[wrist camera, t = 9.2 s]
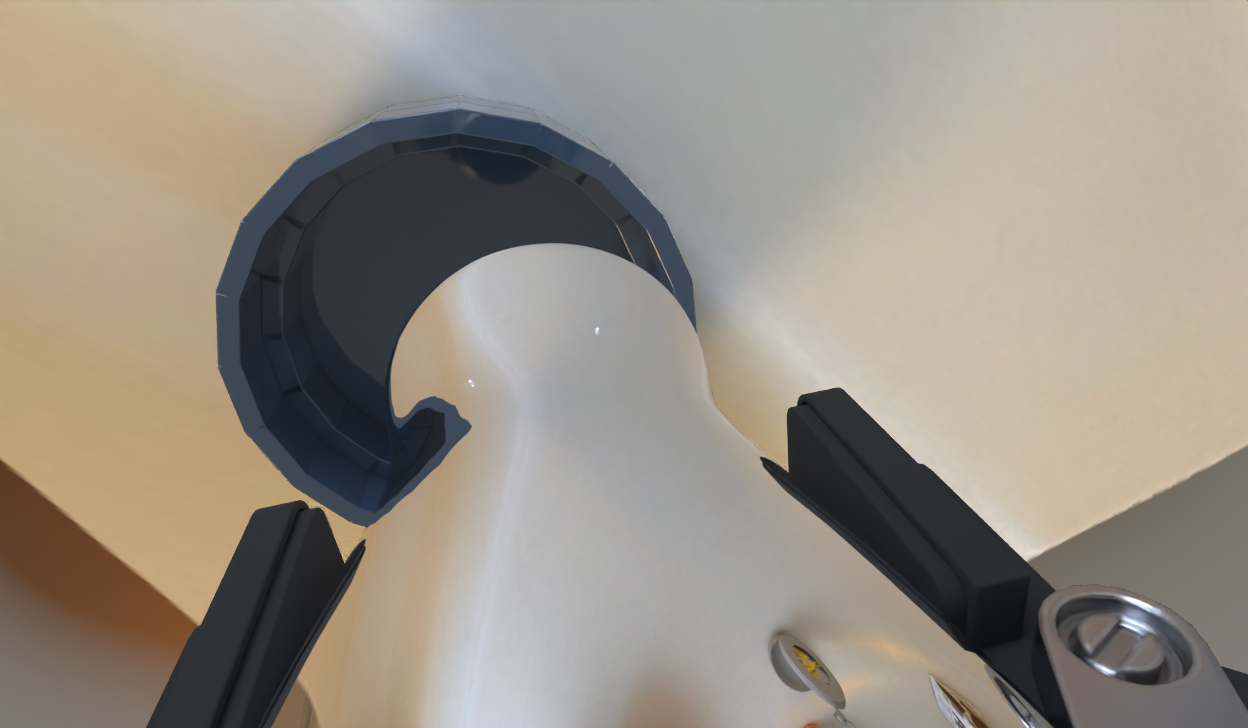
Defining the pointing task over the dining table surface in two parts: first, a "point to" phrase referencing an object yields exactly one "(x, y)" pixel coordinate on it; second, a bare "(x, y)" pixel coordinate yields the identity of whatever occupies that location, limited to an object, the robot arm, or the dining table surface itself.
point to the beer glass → (607, 542)
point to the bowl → (398, 267)
